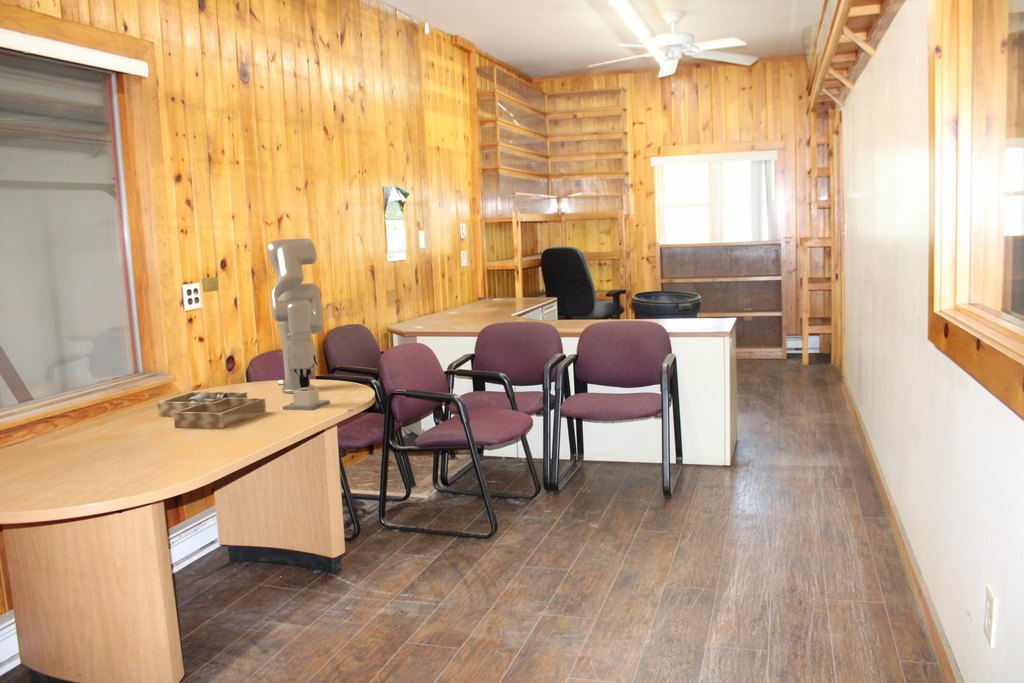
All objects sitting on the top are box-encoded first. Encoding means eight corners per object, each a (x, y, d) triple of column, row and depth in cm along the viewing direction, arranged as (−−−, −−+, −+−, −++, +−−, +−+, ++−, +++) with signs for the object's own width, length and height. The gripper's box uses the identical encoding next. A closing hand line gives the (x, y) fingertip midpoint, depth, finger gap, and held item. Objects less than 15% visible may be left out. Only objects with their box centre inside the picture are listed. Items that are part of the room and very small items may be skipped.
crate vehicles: (174, 427, 278) (173, 412, 277) (221, 411, 300) (220, 397, 300) (222, 428, 272) (220, 413, 271) (266, 412, 294) (264, 398, 293)
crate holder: (158, 415, 298) (157, 402, 297) (194, 404, 315) (193, 391, 315) (214, 417, 290) (213, 403, 289) (248, 405, 308) (246, 392, 307)
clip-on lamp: (206, 423, 294) (231, 401, 311) (204, 407, 292) (229, 386, 308) (175, 420, 296) (201, 399, 312) (173, 404, 293) (199, 383, 310)
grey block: (304, 401, 305) (302, 385, 304) (320, 401, 303) (318, 385, 302) (294, 405, 299) (292, 389, 298) (310, 405, 297) (308, 389, 296)
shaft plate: (282, 409, 298) (281, 394, 297) (301, 402, 309) (300, 387, 308) (311, 410, 294) (310, 394, 293) (329, 402, 305) (328, 388, 304)
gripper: (276, 338, 297) (281, 388, 300) (312, 338, 292) (317, 389, 295) (288, 335, 304) (292, 384, 307) (324, 335, 299) (328, 385, 302)
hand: (304, 386), depth 301 cm, fingers closed
